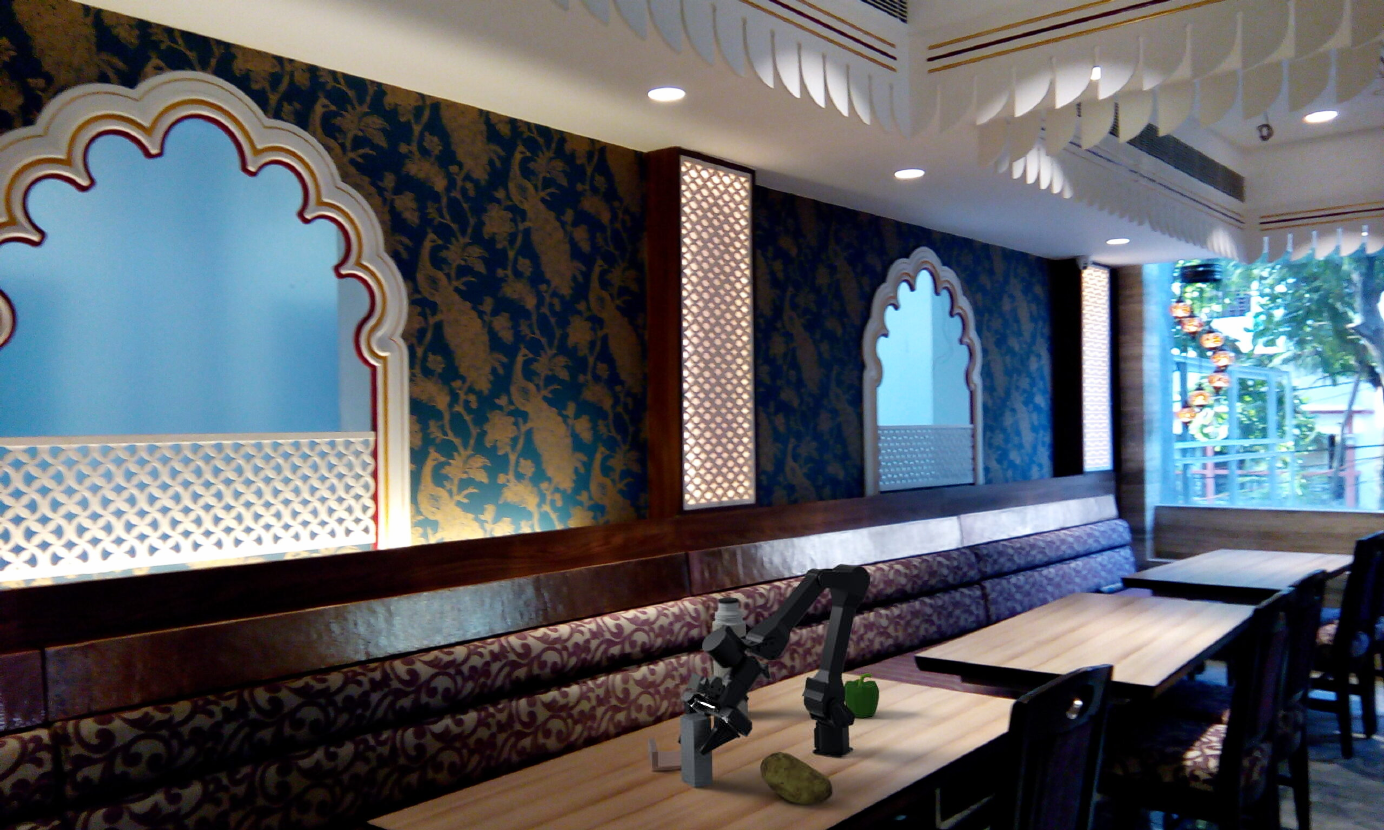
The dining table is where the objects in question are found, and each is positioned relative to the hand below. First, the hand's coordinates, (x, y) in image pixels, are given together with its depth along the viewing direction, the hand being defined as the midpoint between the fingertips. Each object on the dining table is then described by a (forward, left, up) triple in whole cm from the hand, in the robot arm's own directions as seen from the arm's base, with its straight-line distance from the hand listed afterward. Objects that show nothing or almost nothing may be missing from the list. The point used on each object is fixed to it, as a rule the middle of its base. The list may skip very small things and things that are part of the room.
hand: (690, 748), depth 195 cm
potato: (-22, -2, -7) cm, 23 cm away
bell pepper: (-8, -60, -7) cm, 61 cm away
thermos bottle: (+19, -45, -7) cm, 50 cm away
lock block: (-1, -1, -7) cm, 7 cm away
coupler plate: (+10, -9, -7) cm, 15 cm away
